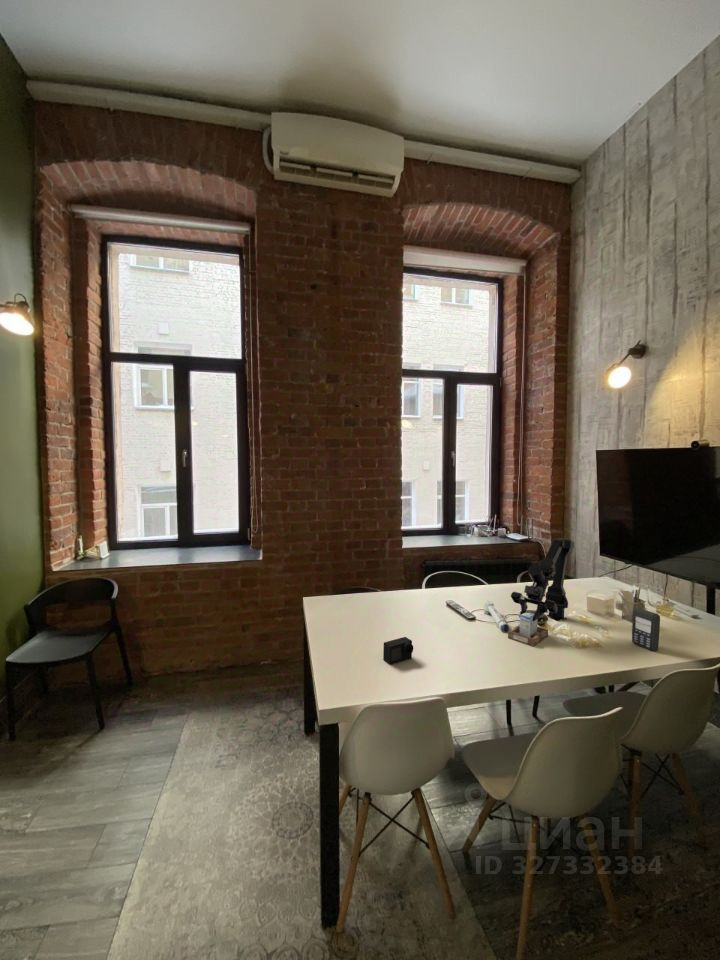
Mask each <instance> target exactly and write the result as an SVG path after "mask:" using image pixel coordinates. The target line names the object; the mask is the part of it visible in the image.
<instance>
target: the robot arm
mask: <svg viewBox="0 0 720 960" xmlns="http://www.w3.org/2000/svg"><path fill="white" fill-rule="evenodd" d="M574 549H575V542H574V541H573V540H572V539H571V538H562V537H557V538H552V540H551V544H550V547H549V549H548V551H547V553H546V554H545V556H544V558H543V559H541V560H539V561H538V562H535V563H534V564H533V565H530V566H529V567H527V568H528V569H527V572H528V573H527V574H528V576H530V579H531V581H532V585H528V584H526V585H525V586H524V591H523V593H524V594H525V593H526V594H525V595H526V596H524V595H523V594H522V592H518V591H513V592H512V593H511V594H510V597H511V599H512V601H513V603H515V604H518V605H520V609H521V610H520V612H521V614H520V615H522V614H523V613H525V612H527V611H528V607H529V606H528V604H532V605H535V606H536V609H535V611H534V612H535V614H534V616H533V621H535V620H536V619H537V618H540V617H541V616H542V615H544V614H546V617H548V618H550V619H553V620H554V621H564V620H567V618H568V617H565V609H568V608H569V601H568V598H567V593H566V590H565V588H564V583H565V574H566V570H567V562H568V557H570V555H572V553H573V550H574ZM548 578H549V579H550V578H551V579H552V578H553V579H552V584H550V586H549V579H548ZM546 590H547V591H546ZM544 598H545V600H544V601H543V599H544Z"/></svg>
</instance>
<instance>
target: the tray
mask: <svg viewBox="0 0 720 960" xmlns="http://www.w3.org/2000/svg"><path fill="white" fill-rule="evenodd" d="M548 637H549V629H548V628H544V627H541V626H538V625H537V632H536V633H535V634H533V635H532V636H531V637H528V636H524V635H521V634H520V623H519V624H518V625H516V626H515V627H513V628H512V629H509V631H508V632H507V639H509V640H513V641H515V642H517V643H518V642H519V643H521V644H525V645H528V646H530V647H534V648H535V646H537V645H539V644H540V643H541V642H543V641H544V640H545V639H546V638H548Z"/></svg>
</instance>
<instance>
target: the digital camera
mask: <svg viewBox="0 0 720 960" xmlns="http://www.w3.org/2000/svg"><path fill="white" fill-rule="evenodd" d="M382 652H383V655H382V656H383V659H382V661H384V662H385V663H386V664H388V665H389V666H390V665H391V666H392V665H395V664H398V663H402V662H404V661H407V660H411V659H412V658H413V657H412V654H413V652H414V645H413V640H412V639H410V638H409V637H407V636H404V637H399V638H396V639H393V640H392V639H391V640H387V641H385V642H383V651H382Z"/></svg>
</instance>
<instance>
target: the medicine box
mask: <svg viewBox="0 0 720 960" xmlns="http://www.w3.org/2000/svg"><path fill="white" fill-rule="evenodd" d="M535 612H536V611H531V610H526V612H525V613H523V614H522V615H521V614H520V615H519V616H520V618H519V619H520V621H519V624H520V634H521V635H524V636H528V637H531V636H532V635H533V634H535V633H536V632H537V626H538V620H539V619H538V618H539V617H538V618H537V619H536V620H535V621H533V616H534V614H535Z"/></svg>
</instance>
